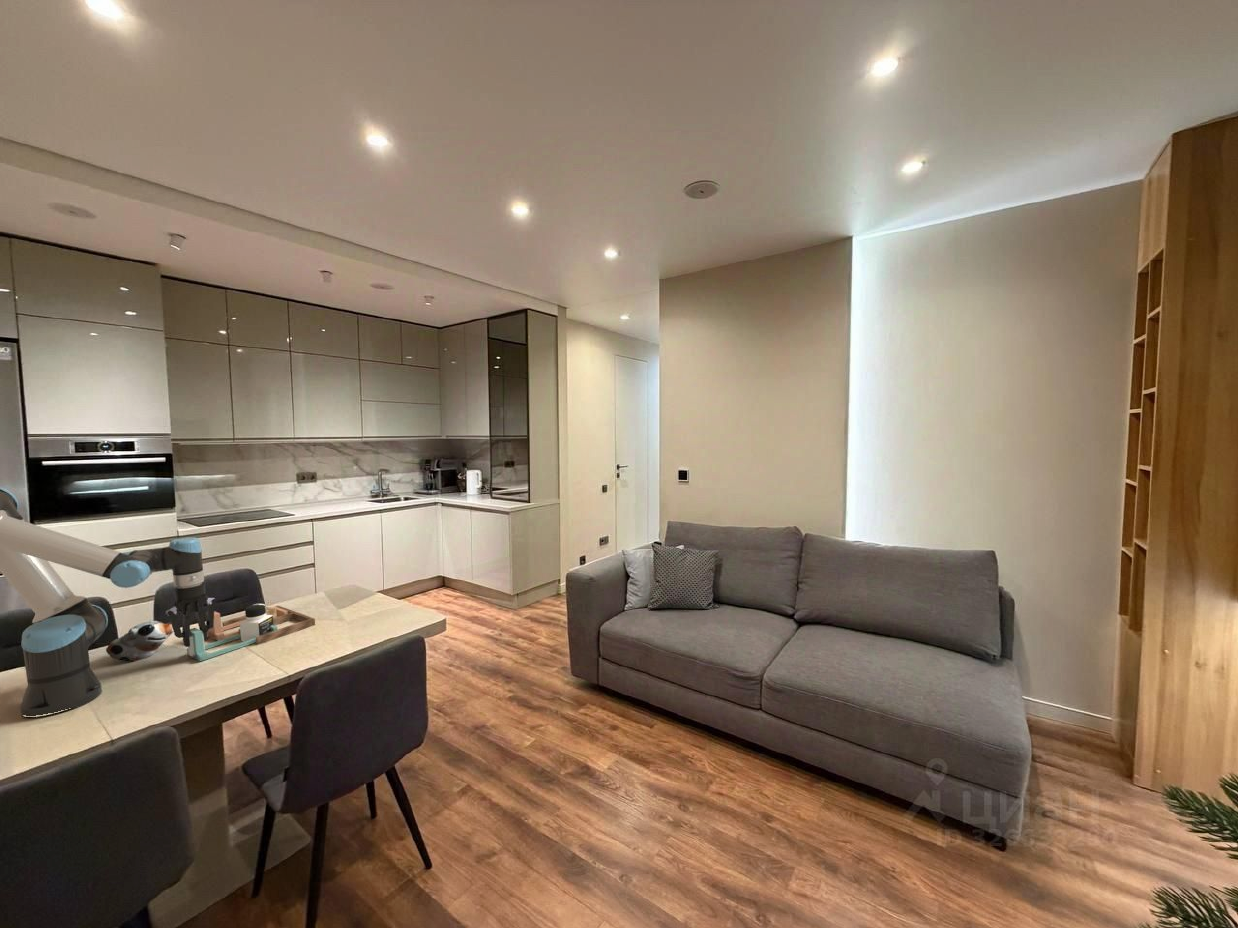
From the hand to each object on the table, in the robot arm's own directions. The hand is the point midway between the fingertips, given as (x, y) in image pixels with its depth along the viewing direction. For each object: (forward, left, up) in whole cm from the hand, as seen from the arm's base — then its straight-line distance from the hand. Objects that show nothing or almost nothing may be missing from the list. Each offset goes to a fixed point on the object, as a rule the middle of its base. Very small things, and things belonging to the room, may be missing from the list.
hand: (196, 652), depth 164 cm
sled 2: (+10, 0, -1) cm, 11 cm away
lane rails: (+24, +7, -1) cm, 25 cm away
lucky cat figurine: (-8, +20, -2) cm, 22 cm away
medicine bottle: (+18, 0, -2) cm, 18 cm away
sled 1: (+20, +13, -1) cm, 24 cm away
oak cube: (+26, +13, -2) cm, 29 cm away
